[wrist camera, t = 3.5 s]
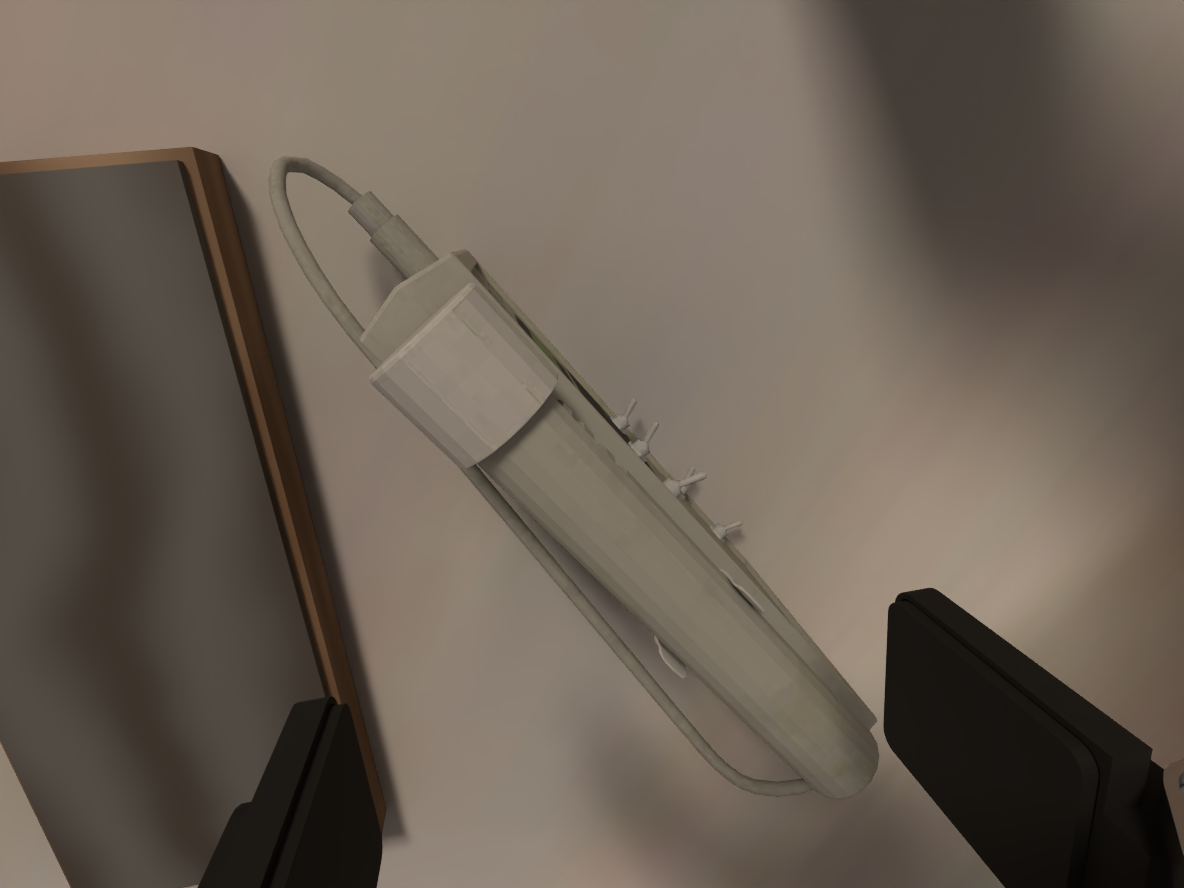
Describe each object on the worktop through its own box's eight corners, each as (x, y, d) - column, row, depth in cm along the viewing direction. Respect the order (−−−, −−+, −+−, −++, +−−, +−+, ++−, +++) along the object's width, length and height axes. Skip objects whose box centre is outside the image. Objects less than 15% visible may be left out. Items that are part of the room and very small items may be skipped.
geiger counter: (981, 784, 18) (241, -68, 10) (804, 921, 18) (-36, 218, 10) (771, 555, 31) (382, 111, 23) (671, 638, 32) (257, 233, 23)
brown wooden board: (218, 155, 23) (186, 144, 20) (386, 809, 32) (378, 854, 30) (-198, 189, 21) (-285, 182, 19) (107, 864, 30) (75, 916, 28)
